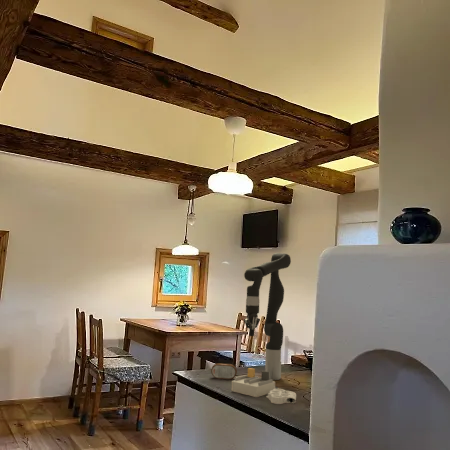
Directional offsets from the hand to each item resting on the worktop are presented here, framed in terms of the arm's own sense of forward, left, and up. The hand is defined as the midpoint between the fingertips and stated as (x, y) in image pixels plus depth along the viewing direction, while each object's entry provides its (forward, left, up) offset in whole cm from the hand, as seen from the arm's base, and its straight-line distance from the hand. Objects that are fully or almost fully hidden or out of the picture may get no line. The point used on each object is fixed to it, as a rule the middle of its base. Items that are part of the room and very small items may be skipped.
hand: (251, 335), depth 249 cm
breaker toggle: (+4, +3, -22) cm, 23 cm away
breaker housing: (+8, +8, -27) cm, 29 cm away
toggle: (+4, +12, -22) cm, 26 cm away
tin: (-3, -21, -27) cm, 35 cm away
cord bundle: (-3, +7, -27) cm, 28 cm away
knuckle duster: (+10, +26, -28) cm, 39 cm away
